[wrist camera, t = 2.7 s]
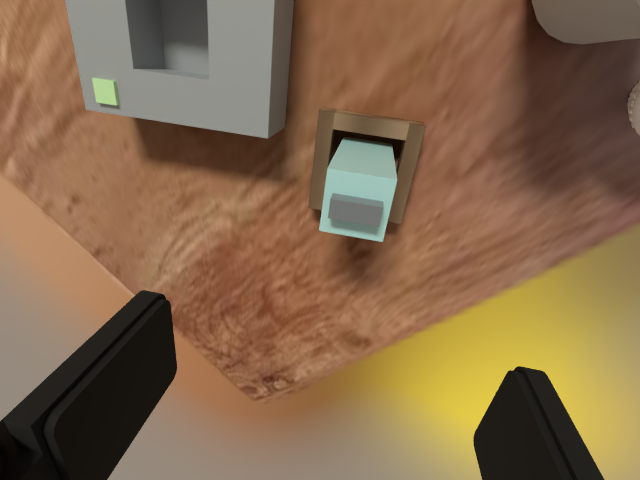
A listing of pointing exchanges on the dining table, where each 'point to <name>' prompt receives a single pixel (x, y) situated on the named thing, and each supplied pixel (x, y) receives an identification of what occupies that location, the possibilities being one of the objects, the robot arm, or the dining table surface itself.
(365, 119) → the square wooden frame
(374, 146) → the plug
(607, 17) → the can
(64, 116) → the dining table surface
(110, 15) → the port block
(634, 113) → the white rounded lump
